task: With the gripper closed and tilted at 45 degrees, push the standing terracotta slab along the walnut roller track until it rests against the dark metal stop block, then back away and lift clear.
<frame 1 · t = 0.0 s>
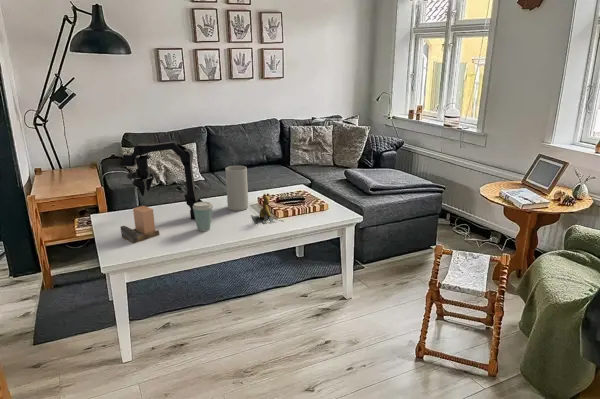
hand: (145, 193, 255), 15 cm above the table, tool pointing down, fingers open, 9 cm apart
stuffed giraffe: (266, 218, 259), on the table
cylinder vase: (238, 208, 275), on the table
roller track: (140, 236, 234), on the table
terracotta slab: (144, 219, 233), point 8 cm above the table, slide at 0.0 cm
disposable coffee cup: (204, 229, 242), on the table
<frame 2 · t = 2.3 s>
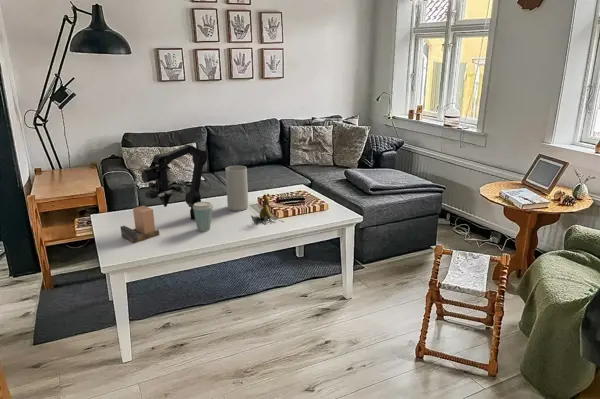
hand: (165, 206, 241), 12 cm above the table, tool pointing down, fingers closed
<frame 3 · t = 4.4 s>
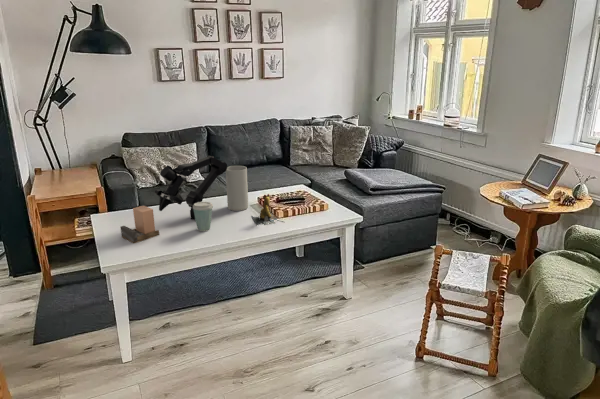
hand: (159, 210, 239), 11 cm above the table, tool tilted 40°, fingers closed
cylinder vase: (238, 208, 275), on the table, touching arm
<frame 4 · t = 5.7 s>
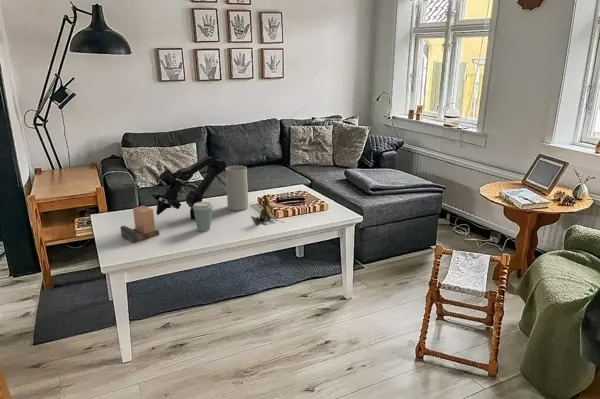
hand: (157, 214, 238), 9 cm above the table, tool tilted 45°, fingers closed
cylinder vase: (238, 208, 275), on the table
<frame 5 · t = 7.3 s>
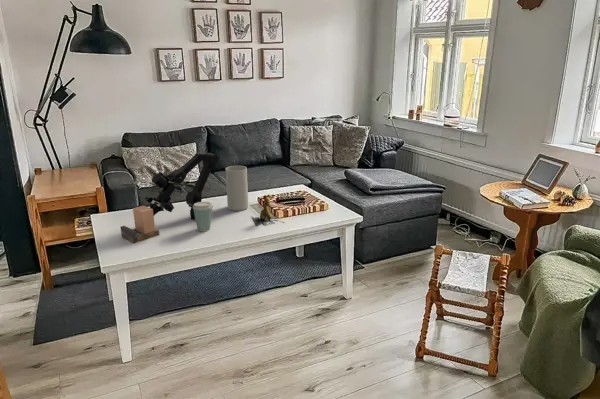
hand: (149, 217, 235), 9 cm above the table, tool tilted 45°, fingers closed, pressing on terracotta slab
terracotta slab: (144, 219, 233), point 8 cm above the table, slide at 0.1 cm, touching gripper
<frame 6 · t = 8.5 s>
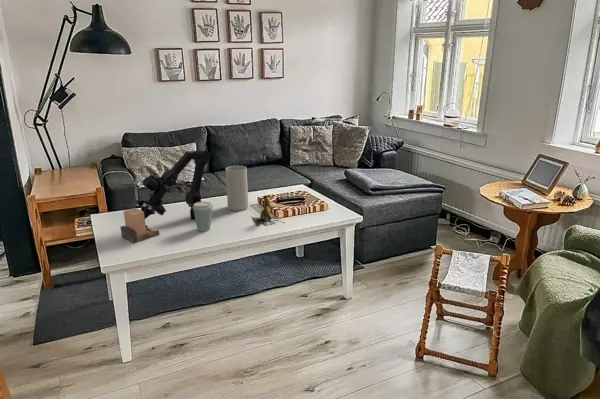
hand: (140, 221, 232), 8 cm above the table, tool tilted 45°, fingers closed, pressing on terracotta slab
terracotta slab: (135, 222, 229), point 8 cm above the table, slide at 5.2 cm, touching gripper
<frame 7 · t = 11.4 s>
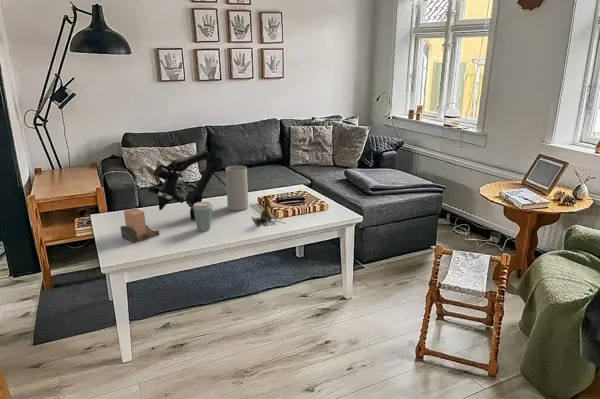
hand: (160, 209, 239), 11 cm above the table, tool tilted 30°, fingers closed
terracotta slab: (135, 222, 230), point 8 cm above the table, slide at 5.0 cm
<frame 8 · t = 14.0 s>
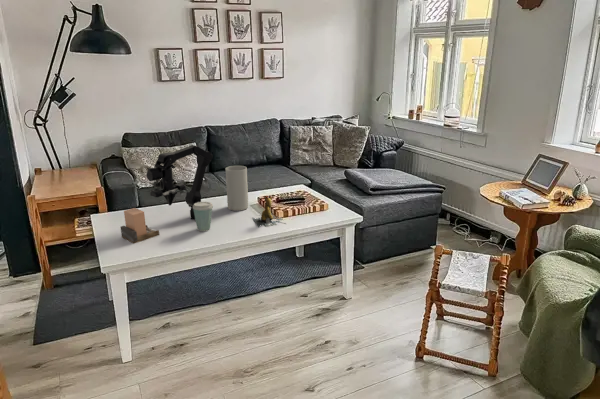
hand: (169, 205, 243), 12 cm above the table, tool pointing down, fingers closed
at the end: terracotta slab slide at 5.0 cm; terracotta slab moved 5.0 cm from its start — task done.
